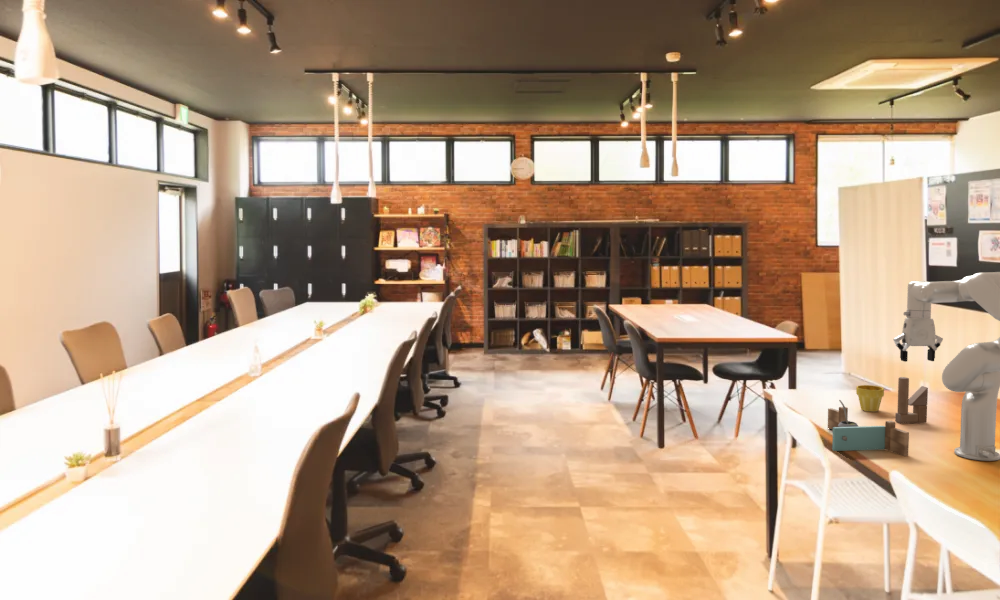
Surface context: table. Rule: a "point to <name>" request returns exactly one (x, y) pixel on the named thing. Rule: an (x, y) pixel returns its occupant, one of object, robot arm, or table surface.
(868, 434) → the door
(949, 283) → the robot arm
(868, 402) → the plant pot
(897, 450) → the gate frame
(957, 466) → the table surface
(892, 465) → the table surface
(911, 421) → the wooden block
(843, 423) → the mate gourd
